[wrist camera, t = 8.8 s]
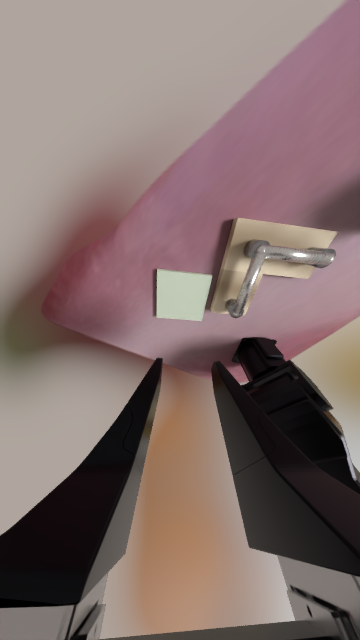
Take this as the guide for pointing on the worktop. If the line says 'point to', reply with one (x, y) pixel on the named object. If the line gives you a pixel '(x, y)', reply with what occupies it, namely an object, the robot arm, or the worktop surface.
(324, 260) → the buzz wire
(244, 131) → the worktop surface
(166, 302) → the pad
